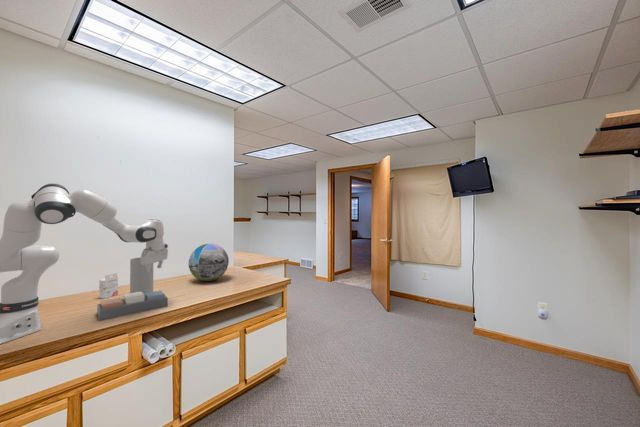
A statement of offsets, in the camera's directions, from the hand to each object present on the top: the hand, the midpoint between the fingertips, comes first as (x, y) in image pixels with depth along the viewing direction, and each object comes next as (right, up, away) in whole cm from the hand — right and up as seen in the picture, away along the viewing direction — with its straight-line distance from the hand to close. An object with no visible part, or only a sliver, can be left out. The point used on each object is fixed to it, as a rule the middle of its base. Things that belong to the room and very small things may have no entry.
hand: (154, 269), depth 156 cm
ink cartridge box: (-39, -21, +15) cm, 47 cm away
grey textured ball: (+8, -21, +57) cm, 62 cm away
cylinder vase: (-17, -21, +15) cm, 31 cm away
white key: (-7, -16, -8) cm, 19 cm away
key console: (-7, -21, -8) cm, 23 cm away
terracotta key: (-14, -18, -15) cm, 27 cm away
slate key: (0, -18, -1) cm, 18 cm away
